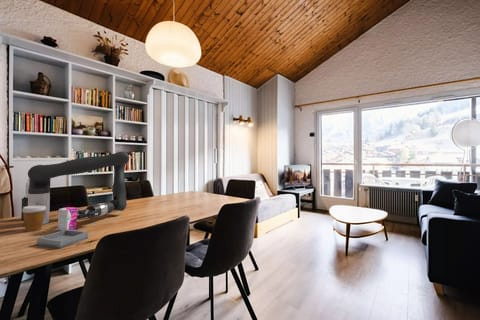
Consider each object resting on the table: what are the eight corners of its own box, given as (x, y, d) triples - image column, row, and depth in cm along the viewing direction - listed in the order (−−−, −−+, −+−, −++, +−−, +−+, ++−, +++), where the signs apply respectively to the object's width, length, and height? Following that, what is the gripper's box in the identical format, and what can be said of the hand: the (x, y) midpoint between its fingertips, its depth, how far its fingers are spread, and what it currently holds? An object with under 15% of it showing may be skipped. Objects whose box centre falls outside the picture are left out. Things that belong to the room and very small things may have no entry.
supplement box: (66, 232, 116) (67, 209, 116) (57, 231, 117) (57, 208, 117) (77, 228, 121) (77, 207, 121) (68, 228, 123) (68, 206, 123)
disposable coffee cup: (44, 230, 117) (45, 207, 117) (19, 233, 112) (19, 209, 112) (47, 226, 125) (47, 204, 125) (23, 228, 119) (24, 205, 119)
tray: (37, 245, 98) (37, 238, 98) (66, 235, 111) (66, 229, 111) (60, 248, 95) (60, 241, 95) (88, 238, 108) (88, 232, 108)
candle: (36, 218, 138) (37, 177, 138) (25, 220, 133) (26, 178, 133) (30, 217, 140) (31, 177, 140) (20, 219, 135) (21, 177, 135)
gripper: (87, 203, 138) (60, 208, 123) (107, 204, 135) (82, 210, 119) (87, 215, 138) (60, 222, 123) (106, 217, 135) (81, 225, 119)
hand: (71, 216), depth 121 cm, fingers open, 8 cm apart
